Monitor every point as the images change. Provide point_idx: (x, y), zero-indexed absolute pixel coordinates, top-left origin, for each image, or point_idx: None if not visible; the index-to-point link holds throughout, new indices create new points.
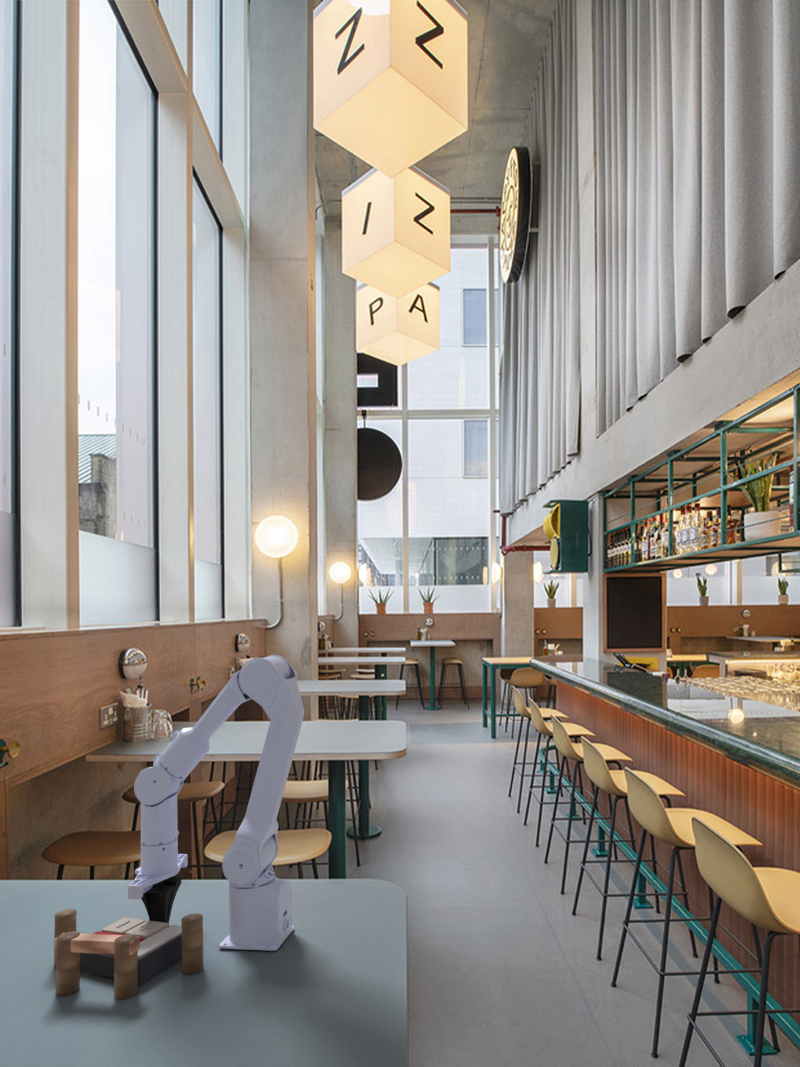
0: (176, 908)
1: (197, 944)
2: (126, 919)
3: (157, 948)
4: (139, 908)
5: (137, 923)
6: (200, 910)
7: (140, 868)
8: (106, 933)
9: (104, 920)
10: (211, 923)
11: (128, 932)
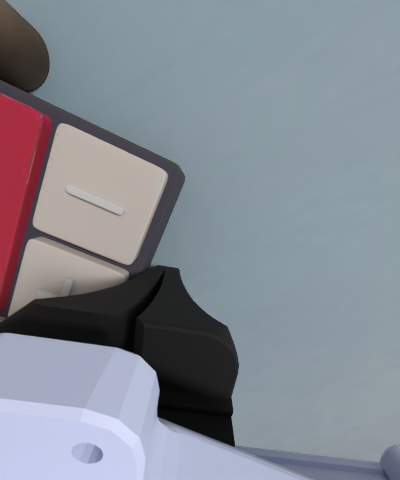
0: (353, 247)
1: None
2: (143, 190)
3: None
4: (391, 126)
5: (103, 250)
6: (321, 311)
7: (5, 460)
8: (19, 168)
9: (318, 29)
10: (240, 353)
11: (29, 251)
